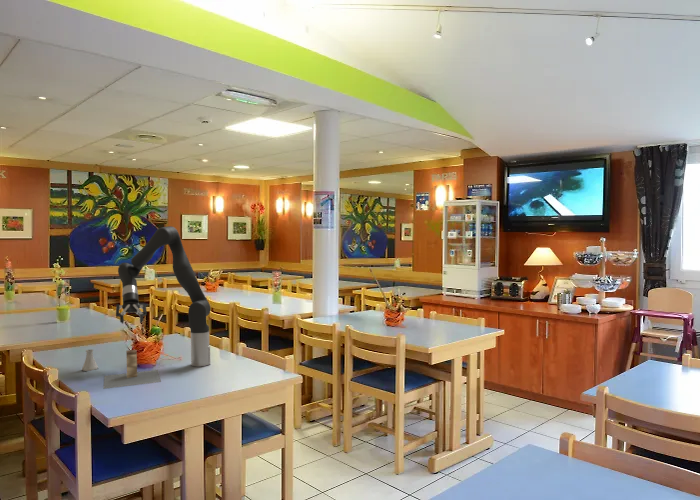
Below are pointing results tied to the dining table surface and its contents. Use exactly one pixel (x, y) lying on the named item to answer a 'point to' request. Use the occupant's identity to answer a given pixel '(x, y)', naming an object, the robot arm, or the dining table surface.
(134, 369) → the maple block
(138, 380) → the rubber mat
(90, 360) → the flask
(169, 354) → the dining table surface
